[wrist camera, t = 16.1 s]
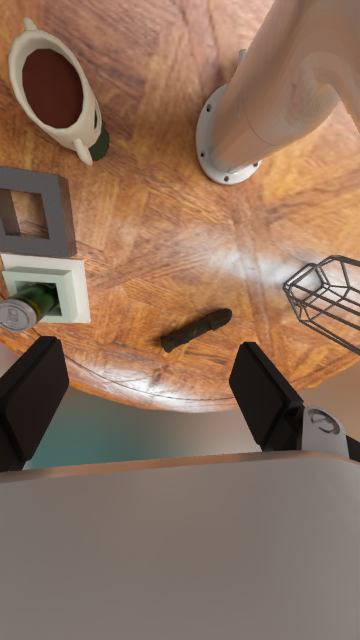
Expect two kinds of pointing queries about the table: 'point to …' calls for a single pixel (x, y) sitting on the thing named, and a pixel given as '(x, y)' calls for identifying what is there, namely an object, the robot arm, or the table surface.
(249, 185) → the table surface
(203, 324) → the hand tool
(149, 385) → the table surface
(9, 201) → the socket block
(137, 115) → the table surface
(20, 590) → the robot arm
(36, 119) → the character mug
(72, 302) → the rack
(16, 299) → the beer can
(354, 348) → the geometric lantern
